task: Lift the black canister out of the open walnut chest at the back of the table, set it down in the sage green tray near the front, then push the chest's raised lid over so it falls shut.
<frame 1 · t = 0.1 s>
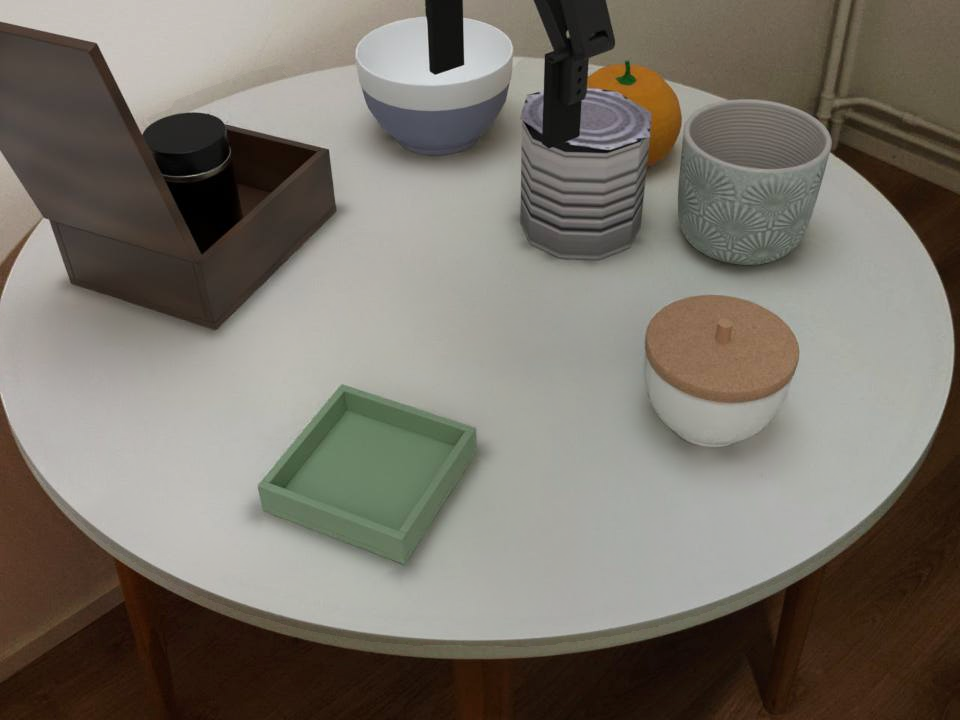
hand: (500, 102, 76), 20 cm above the table, tool pointing down, fingers open, 13 cm apart
chest: (209, 246, 97), on the table
black canister: (207, 239, 97), point 1 cm above the table, touching chest
trinket box: (707, 420, 80), on the table
lid: (66, 142, 77), point 17 cm above the table, hinge at 103.9°
can: (579, 227, 99), on the table
bowl: (438, 135, 112), on the table
fruit: (619, 154, 109), on the table
planter: (737, 240, 97), on the table
tray: (372, 480, 75), on the table
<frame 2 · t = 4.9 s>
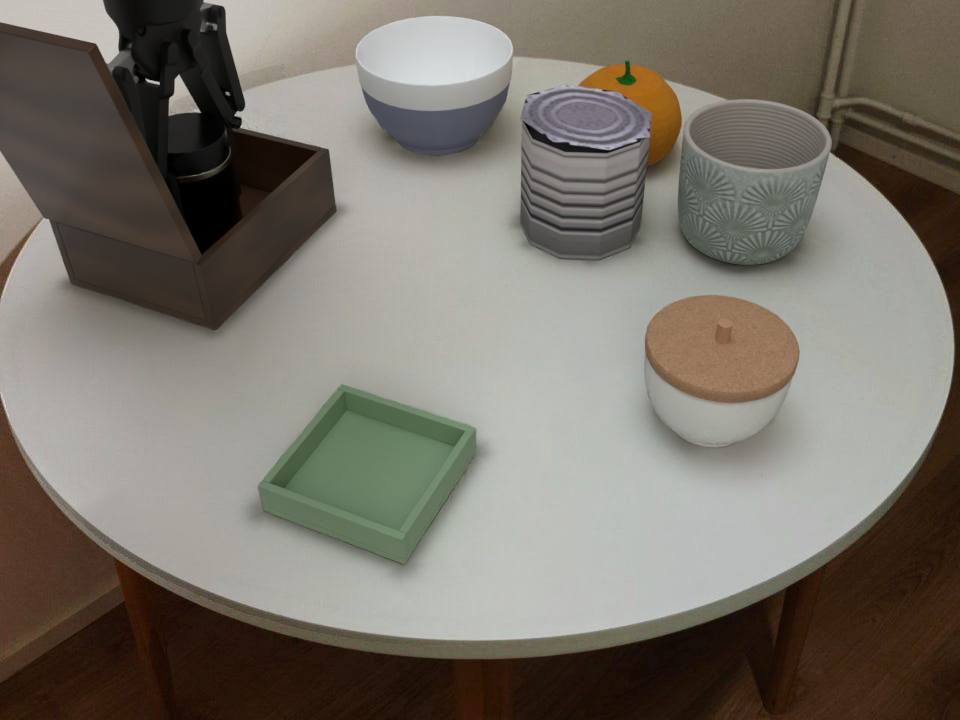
hand: (201, 213, 95), 4 cm above the table, tool pointing down, fingers closed on black canister, 7 cm apart
black canister: (207, 239, 97), point 1 cm above the table, touching chest, gripper
everything else where it was.
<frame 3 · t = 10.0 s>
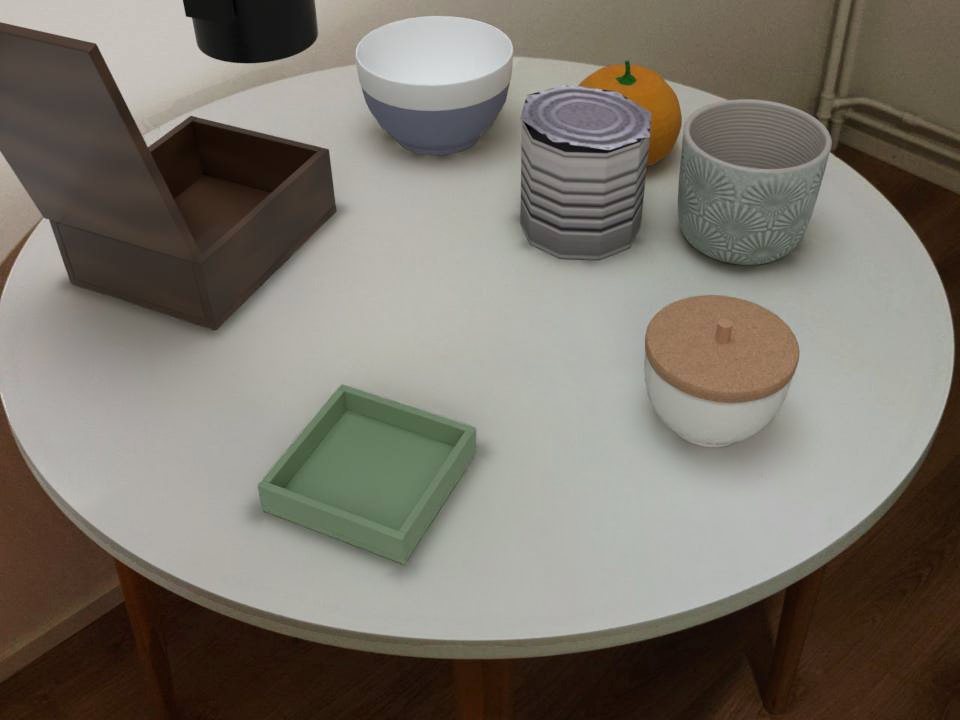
black canister: (258, 37, 61), point 30 cm above the table, touching gripper
everything else where it was.
when the fingers open (3 cm above the table, at t = 14.9 s): black canister stays where it is, resting on tray.
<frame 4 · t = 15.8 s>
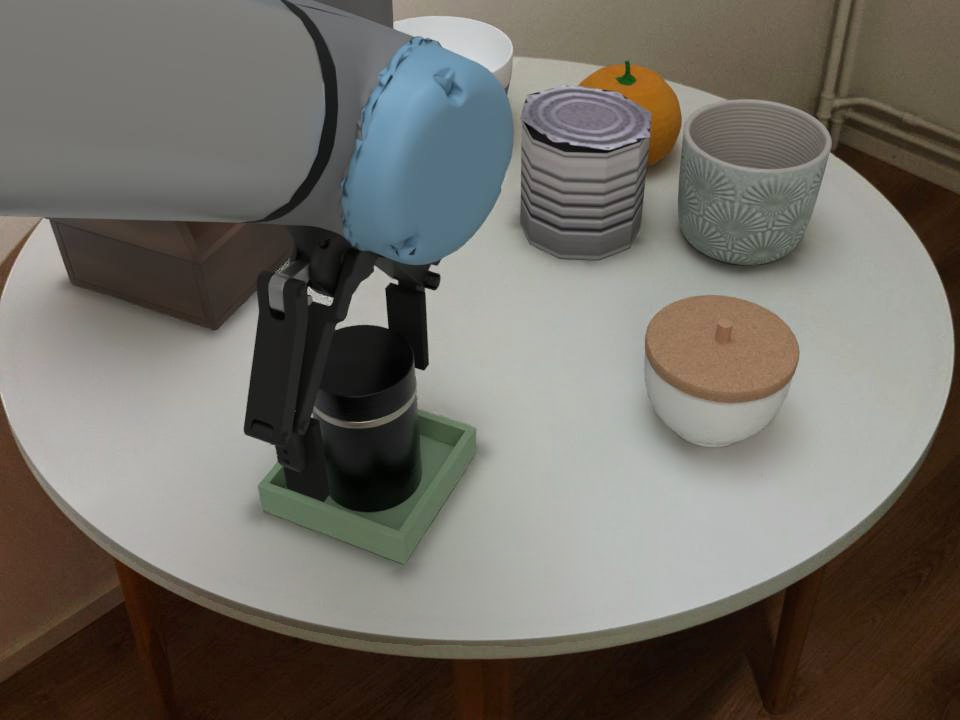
hand: (362, 423, 71), 6 cm above the table, tool pointing down, fingers open, 13 cm apart
black canister: (372, 474, 75), point 1 cm above the table, touching tray
everything else where it was.
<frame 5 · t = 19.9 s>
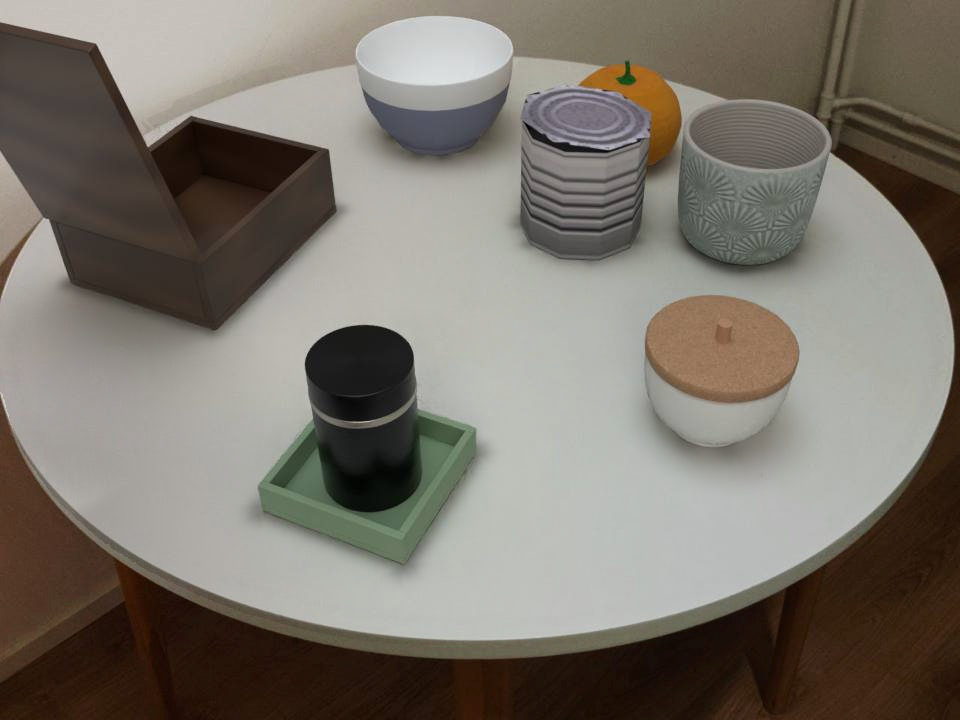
nothing on the table moved.
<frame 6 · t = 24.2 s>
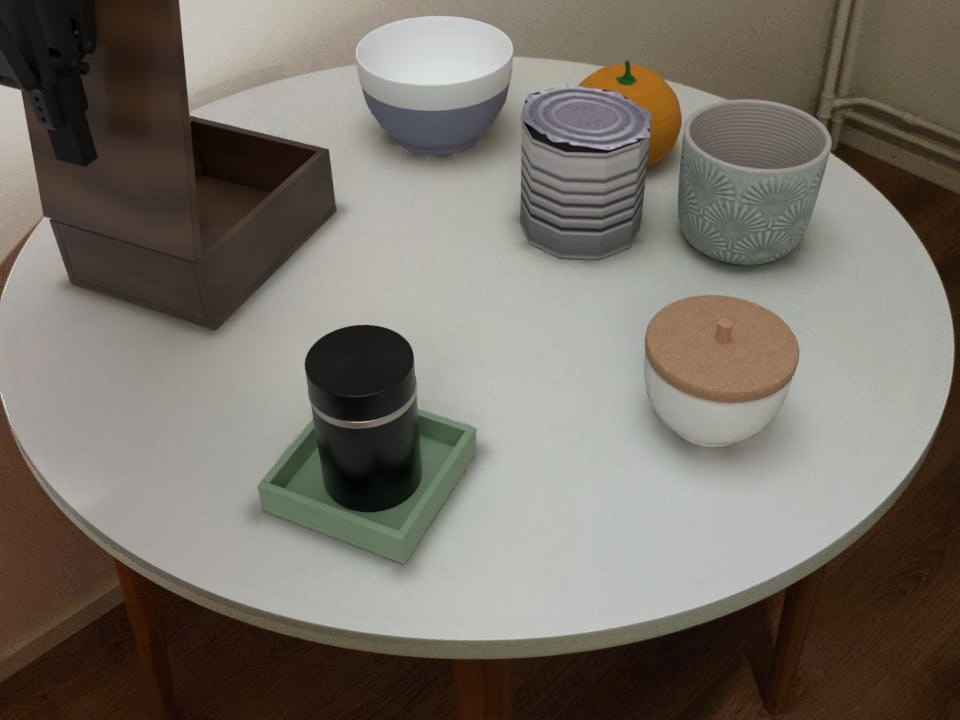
hand: (77, 158, 79), 16 cm above the table, tool pointing down, fingers closed
lid: (104, 115, 80), point 17 cm above the table, hinge at 80.1°
everything else where it was.
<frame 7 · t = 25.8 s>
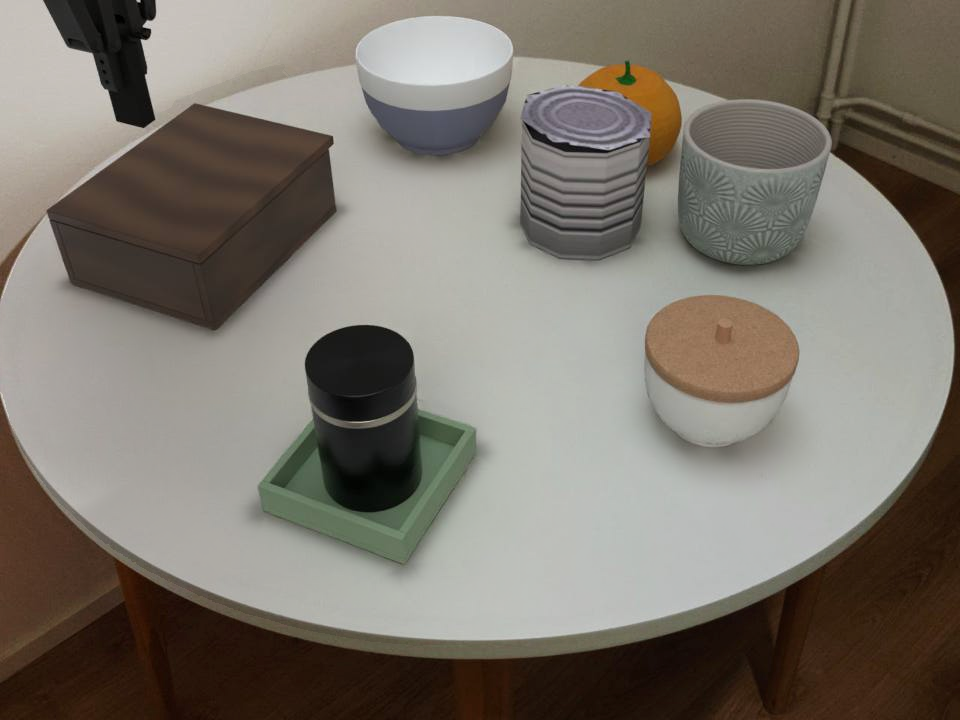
hand: (135, 120, 84), 15 cm above the table, tool pointing down, fingers closed
lid: (197, 175, 93), point 7 cm above the table, hinge at -0.1°
everything else where it was.
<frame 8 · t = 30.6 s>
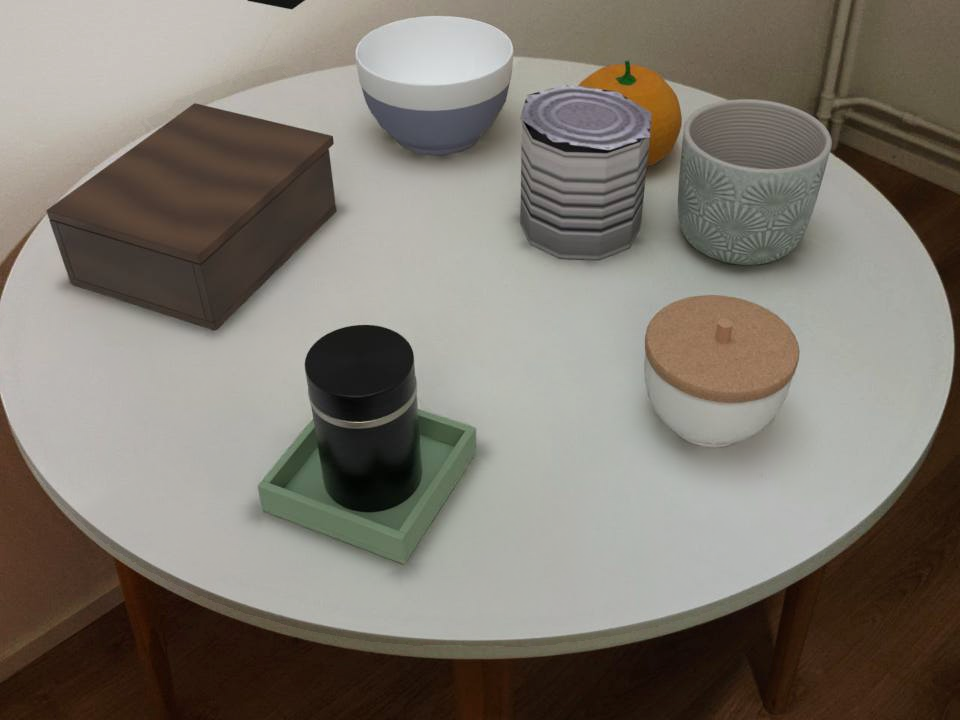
nothing on the table moved.
at the end: black canister 0.1 cm off-centre in the tray, point 0.6 cm above the tray's base; black canister tilted 0°; lid at +0° (first picture: +102°) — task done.
